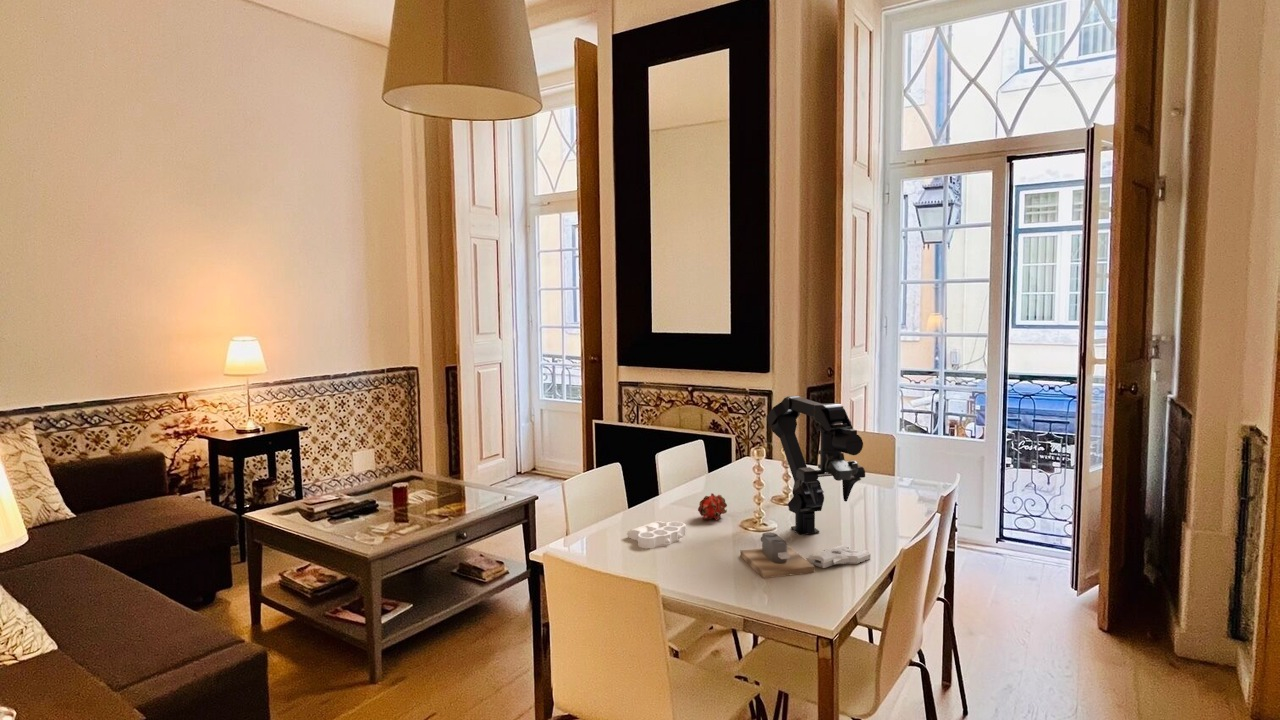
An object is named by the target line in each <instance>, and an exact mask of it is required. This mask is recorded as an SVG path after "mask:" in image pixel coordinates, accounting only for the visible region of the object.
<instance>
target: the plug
mask: <svg viewBox="0 0 1280 720" xmlns="http://www.w3.org/2000/svg"><path fill="white" fill-rule="evenodd" d="M760 541H761V543H762V545H761V548H762V553H763V554H764V555H765V556H766V557H767V558H769V559H770V560H771V561H772V562H774V563H777V564H783V563H786V562H787V559H789V558H790V554H789V553H787V546H788V542H787V541H786V540H785V539H784V538H782V537H781V536H780V535H779V534H777V533H776V532H769V531H768V532H763V533H762V536H761V537H760Z"/></svg>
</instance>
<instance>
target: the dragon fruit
mask: <svg viewBox="0 0 1280 720" xmlns="http://www.w3.org/2000/svg"><path fill="white" fill-rule="evenodd" d="M727 507H728V504H727V503H726V499H725V497H723V496H722V494H717V495H715V494H714V493H710V495H705V496H704V497H703V498H702V499H701V500H700V502H699V507H698V508H697V512H698V513H699V514H700V516H701V517H703V518H702V520H703V521H704V520H705V521H709V520H708V519H710V520H711V519H715V520H716V519H717V520H716V521H718V520H719V519H720V518H721V517H722V516H721V515H722V514H723V515H725V514H726V513H727V512H728V509H726V508H727Z"/></svg>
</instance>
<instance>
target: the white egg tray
mask: <svg viewBox="0 0 1280 720" xmlns="http://www.w3.org/2000/svg"><path fill="white" fill-rule="evenodd" d="M626 535H627V537H628V538H629V539H630V538H631V539H630V540H633V539H634V541H637V546H638V547H639V548H641V547H642V548H641V549H647V548H650V549H655V548H657V547H662V546H668V545H671V544H672V543H676V542H679V541H680V540H681V539H682V538H684V537H685V536H686V535H687V525H686V523H684V522H682V521H669V522H663V521H661V520H654V521H653V522H651V523H650V522H649V523H647V524H644V525H641V526H638V527H636V528H632V529H630V530H628V531H627V533H626Z"/></svg>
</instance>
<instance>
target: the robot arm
mask: <svg viewBox="0 0 1280 720" xmlns="http://www.w3.org/2000/svg"><path fill="white" fill-rule="evenodd" d="M801 414H802V415H805V416H810V417H812V418H813V420H814V422H815V423H818V424H819V425H818V426H817V427H815V430H816V431H818V432H820V433H819V434H820V435H819V438H820V439H819V440H820V441H819V442H820V444H819V445H820V446H819V448H820V449H819V450H817V451H818V455H820V457H819V458H820V462H819V464H818V466H817V468H818V470H816V469H814V468H812V467H810V466H809V467H808V466H807V464H806V460H805V458H804V457H805V456H804V455H803V452H802V449H801V446H800V443H799V441H798V437H797V435H796V431H797V426H798V421H797V419H798V418H799V417H800V415H801ZM766 421H767V423H768V425H769V427H770V429H771V431H772V433H773V434H775V436H777V437H778V439H779V440H780V443H781V446H782V449H783V451H784V454H785V457H786V460H787V463H788V466H789V467H788V468H789V470H790V472H791V475H792V478H793V481H794V484H793V488H792V495H793V497H792V498H791V499H790V501H788V503H787V505H788V511H790V512H791V513H793V514H795V516H794V517H795V525H794V526H790V529H792V531H794V532H795V533H797V534H798V535H812V534H819V533H820V530H819V529H817V528H816V523H815V522H816V520H815V519H816V512H821V511H822V509H823V505H824V502H825V495H824V492H825V491H824V490H823V488H822V486H821V485H822V484H821V482H820V480H819V478H821V477H822V478H824V477H833V480H835V481H840V482H842V484H841V485H842V496H843V497H842V498H843V501H844V502H848V500H849V496H850V495H851V492H852V489H853V487H854V485H855V484H856V483H857V482H860V481H861V480H862V479H863V478H865V477H866V470H865V468H864V467H863V466H861V465H859V463H858V462H857V461H856V460H849V461H848V460H847V461H846V460H845V455H844V454H846V455H850V456H857V455H859V454H860V453H861V452H862V450H863V448H864V442H863V439H862V437H861V436H860V435H859V434H858V430H857V429H855V428H853V425H852V421H851V420H850V418H849V415H848V413H847V412H846V410H845V408H844V406H843V404H841V403H821V402H818V401H814V400H811V399H807V398H804V397H802V396H799V395H791V396H789V395H788V396H785V397H784V398H783V399H782V400H781V401H780V402H779V403H778V404H776V405H775V406H773V407H772V408H771V410H770V411H769V412H768V414H767V417H766Z"/></svg>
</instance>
